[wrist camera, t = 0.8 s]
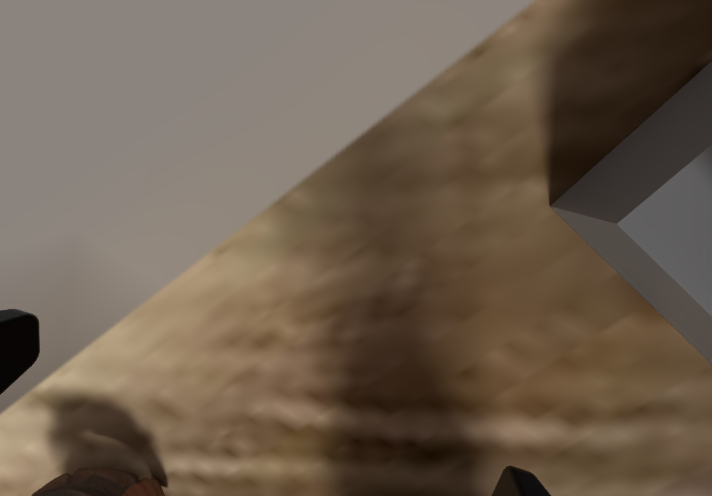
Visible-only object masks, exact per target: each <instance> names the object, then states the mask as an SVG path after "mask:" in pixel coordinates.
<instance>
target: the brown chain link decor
mask: <svg viewBox="0 0 712 496" xmlns="http://www.w3.org/2000/svg"><path fill="white" fill-rule="evenodd" d="M32 496H165V495H164V493H163V490H162V488H161V485H160V483H159V482H158V480H157V479H149V478H146V479H144V480H142V481H139V479H138V477H137V476H136V475H135V474H130V473H127V472H123V471H118V470H113V469H107V468H80V469H78V470H77V471H76V472H75V473H74V474H73V475H72V476H70V475H69V474H68V473H66V474H63V475H61V476H59V477H57V478H55V479H54V480H52V481H51V482H49V483H48V484H46V485H45V486H44V487H42V488H41V489H39V490H38V491H36V492H35V493H33V494H32Z"/></svg>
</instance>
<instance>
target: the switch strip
mask: <svg viewBox="0 0 712 496" xmlns="http://www.w3.org/2000/svg"><path fill="white" fill-rule="evenodd" d="M550 207H551V208H552V209H553V210H554V211H555V212H556V213H557V214H558V215H559V216H560V217H561V218H562V219H563V220H564V221H565V222H566V223H567V224H568V225H569V226H570V227H571V228H572V229H573V230H574V231H576V232H577V233H578V234H579V235H580V236H581V237H582V238H583V239H584V240H585V241H586V242H587V243H588V244H589V245H590V246H591V247H592V248H593V249H594V250H595V251H596V252H597V253H598V254H599V255H600V256H601V257H602V258H603V259H604V260H605V261H606V262H607V263H608V264H609V265H610V266H611V267H612V268H613V269H614V270H616V271H617V272H618V273H619V274H620V275H621V276H622V277H623V278H624V279H625V280H626V281H627V282H628V283H629V284H630V285H631V286H632V287H633V288H634V289H635V290H636V291H637V292H638V293H639V294H640V295H641V296H642V297H643V298H644V299H645V300H646V301H647V302H648V303H649V304H650V305H651V306H652V307H653V308H654V309H656V310H657V311H658V312H659V313H660V314H661V315H662V316H663V317H664V318H665V319H666V320H667V321H668V322H669V323H670V324H671V325H672V326H673V327H674V328H675V329H676V330H677V331H678V332H679V333H680V334H681V335H682V336H683V337H684V338H685V339H686V340H687V341H688V342H689V343H690V344H691V345H692V346H693V347H695V348H696V349H697V350H698V351H699V352H700V353H701V354H702V355H703V356H704V357H705V358H706V359H707V360H708V361H709V362H710V363H711V364H712V61H711V62H710V63H709V64H708V65H707V66H705V67H704V68H703V69H702V70H701V71H700V72H699V73H698V74H697V75H695V76H694V77H693V78H692V79H691V80H690V81H689V82H688V83H687V84H685V85H684V86H683V87H682V88H681V89H680V90H679V91H678V92H676V93H675V94H674V95H673V96H672V97H671V98H670V99H669V100H668V101H666V102H665V103H664V104H663V105H662V106H661V107H660V108H659V109H658V110H656V111H655V112H654V113H653V114H652V115H651V116H650V117H649V118H648V119H646V120H645V121H644V122H643V123H642V124H641V125H640V126H639V127H637V128H636V129H635V130H634V131H633V132H632V133H631V134H630V135H629V136H627V137H626V138H625V139H624V140H623V141H622V142H621V143H620V144H619V145H617V146H616V147H615V148H614V149H613V150H612V151H611V152H610V153H609V154H607V155H606V156H605V157H604V158H603V159H602V160H601V161H600V162H598V163H597V164H596V165H595V166H594V167H593V168H592V169H591V170H590V171H588V172H587V173H586V174H585V175H584V176H583V177H582V178H581V179H580V180H578V181H577V182H576V183H575V184H574V185H573V186H572V187H571V188H570V189H568V190H567V191H566V192H565V193H564V194H563V195H562V196H561V197H559V198H558V199H557V200H556V201H555V202H554V203H553V204H552V205H551V206H550Z"/></svg>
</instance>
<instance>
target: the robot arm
mask: <svg viewBox="0 0 712 496" xmlns="http://www.w3.org/2000/svg"><path fill="white" fill-rule="evenodd" d="M39 353H40V339H39V320H38V318H37V317H36V316H35V315H33V314H31V313H28V312H24V311H21V310H17V309H8V310H1V311H0V394H1V393H3V392H4V391H5V390H6V389H7V388H8V387H9V386H10V385H11V384H12V383H13V382H15V381H16V380H17V379H18V378H19V377H20V376H21V375H22V374H23V373H24V372H25V371H26V370H27V369H29V368H30V367H31V366H32V365H33V364H34V362H35V361H36V360H37V358H38V356H39ZM492 496H551V495H550V494H549V493H548V491H547V490H546V489H545V488H544V486H543V485H542V484H541V483H540V481H539V480H538V479H537V478H536V477H535V475H534V474H532V473H531V472H529V471H526V470H523V469H520V468H517V467H513V466H507V467H506V468H505V469H504V470H503V472H502V474H501V477H500V479H499V481H498V483H497V485H496V487H495V490H494V492H493V494H492Z"/></svg>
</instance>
